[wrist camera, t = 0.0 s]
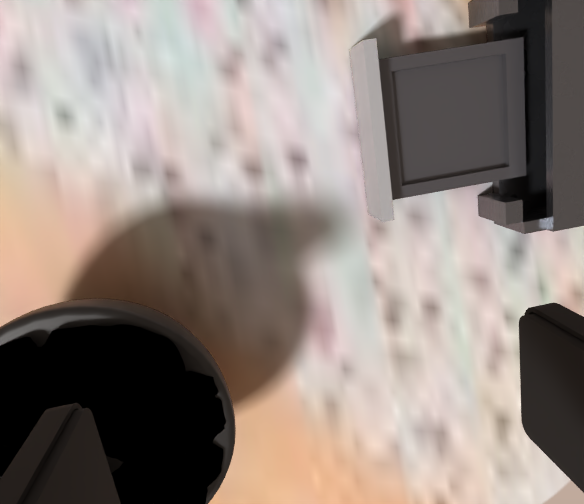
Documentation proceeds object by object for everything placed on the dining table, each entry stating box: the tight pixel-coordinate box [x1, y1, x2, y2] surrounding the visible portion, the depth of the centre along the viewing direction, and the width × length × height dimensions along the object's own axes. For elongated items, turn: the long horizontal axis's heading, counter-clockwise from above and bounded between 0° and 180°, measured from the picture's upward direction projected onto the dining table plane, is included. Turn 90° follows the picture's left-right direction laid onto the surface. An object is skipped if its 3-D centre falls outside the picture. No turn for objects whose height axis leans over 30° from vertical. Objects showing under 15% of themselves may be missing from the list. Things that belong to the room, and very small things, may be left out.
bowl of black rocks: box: [0, 299, 236, 504], centre depth 33 cm, size 20×20×19 cm
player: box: [468, 0, 584, 234], centre depth 39 cm, size 20×15×5 cm
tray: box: [349, 37, 526, 222], centre depth 38 cm, size 14×14×4 cm
